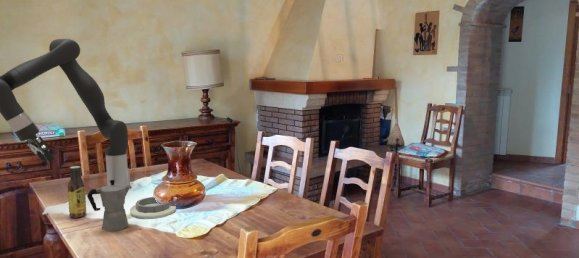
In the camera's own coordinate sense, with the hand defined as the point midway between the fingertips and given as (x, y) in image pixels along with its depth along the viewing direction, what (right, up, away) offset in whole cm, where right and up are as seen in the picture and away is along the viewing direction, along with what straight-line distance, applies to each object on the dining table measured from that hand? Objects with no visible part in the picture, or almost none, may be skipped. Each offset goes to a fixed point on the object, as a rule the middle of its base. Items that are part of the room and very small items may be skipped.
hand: (48, 161), depth 180 cm
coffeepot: (+30, -24, -11) cm, 40 cm away
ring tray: (+39, -21, +7) cm, 45 cm away
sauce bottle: (+11, -22, +2) cm, 25 cm away
